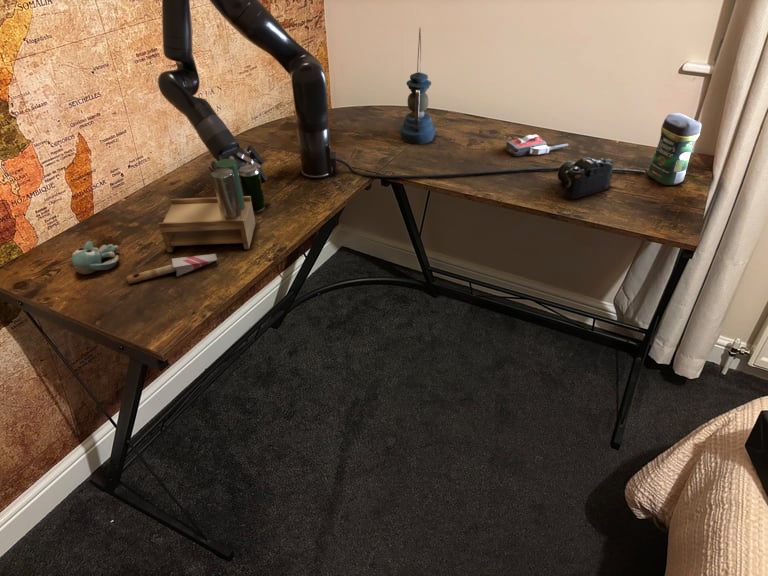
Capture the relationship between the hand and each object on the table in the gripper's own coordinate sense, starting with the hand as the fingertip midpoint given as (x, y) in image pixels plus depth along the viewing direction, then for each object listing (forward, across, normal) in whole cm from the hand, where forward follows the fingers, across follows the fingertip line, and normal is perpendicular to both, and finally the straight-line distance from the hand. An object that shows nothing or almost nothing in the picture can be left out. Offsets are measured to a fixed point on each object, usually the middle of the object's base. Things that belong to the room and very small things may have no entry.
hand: (253, 187), depth 147 cm
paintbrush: (+9, -32, 0) cm, 33 cm away
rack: (+6, -16, +4) cm, 18 cm away
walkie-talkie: (+36, +79, -28) cm, 91 cm away
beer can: (+4, 0, +5) cm, 7 cm away
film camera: (+52, +62, -43) cm, 91 cm away
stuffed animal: (-3, -40, +13) cm, 42 cm away
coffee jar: (+64, +82, -55) cm, 118 cm away
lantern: (+11, +65, -2) cm, 66 cm away
